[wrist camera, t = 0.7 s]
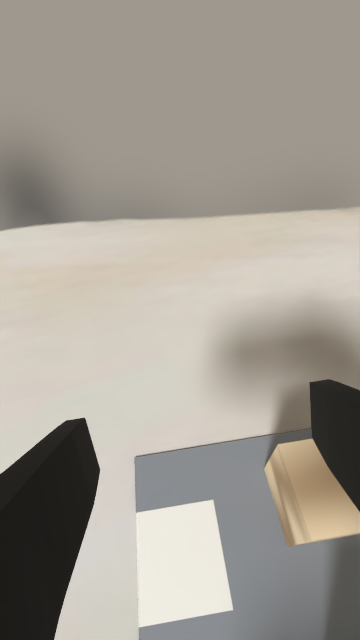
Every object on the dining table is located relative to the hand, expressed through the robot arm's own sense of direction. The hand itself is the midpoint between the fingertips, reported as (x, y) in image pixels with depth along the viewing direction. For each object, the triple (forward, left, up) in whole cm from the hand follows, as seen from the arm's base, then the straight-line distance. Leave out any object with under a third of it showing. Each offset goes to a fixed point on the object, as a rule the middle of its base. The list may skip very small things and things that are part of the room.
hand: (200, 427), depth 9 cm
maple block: (0, -8, -17) cm, 18 cm away
